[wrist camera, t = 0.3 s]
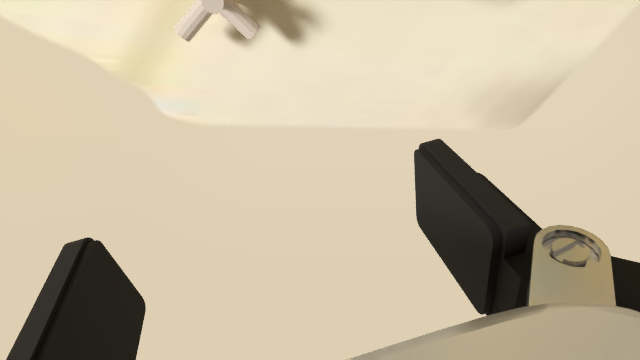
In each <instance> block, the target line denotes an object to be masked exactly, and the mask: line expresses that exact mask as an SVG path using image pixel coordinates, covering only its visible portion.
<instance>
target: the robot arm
mask: <svg viewBox="0 0 640 360" xmlns="http://www.w3.org/2000/svg"><path fill="white" fill-rule="evenodd" d="M414 163H415V189H416V215H417V221H418V224H419V226H420V228H421V229H422V231H423V233H424V234H425V235H426V237H427V238H428V240H429V241H430V243H431V244H432V246H433V247H434V248H435V250H436V251H437V253H438V254H439V256H440V257H441V259H442V260H443V262H444V263H445V265H446V266H447V268H448V269H449V271H450V272H451V274H452V275H453V276H454V278H455V279H456V281H457V282H458V284H459V285H460V287H461V288H462V290H463V291H464V293H465V294H466V296H467V297H468V299H469V300H470V301H471V303H472V304H473V306H474V307H475V309H476V310H477V311H478V312H479V313H480V314H486V315H487V316H485V317H482V318H478V319H475V320H472V321H468V322H465V323H462V324H458V325H455V326H452V327H448V328H445V329H442V330H438V331H435V332H432V333H429V334H425V335H423V336H420V337H416V338H413V339H410V340H407V341H404V342H400V343H397V344H394V345H391V346H388V347H385V348H382V349H379V350H375V351H373V352H369V353H366V354H363V355H360V356H357V357H354V358H350V359H348V360H640V263H638V262H633V261H629V260H625V259H621V258H617V257H612V256H611V255H610V252H609V249H608V247H607V246H606V245H605V244H604V242H603V241H602V240H601V239H600V238H598V237H597V236H595V235H594V234H592V233H590V232H588V231H586V230H583V229H581V228H577V227H573V226H564V225H556V226H550V227H547V228H544V229H542V228H540V227H539V226H538V225H537V224H536V223H535V222H534V221H533V220H532V219H531V218H530V217H528V216H527V215H526V214H525V213H524V212H523V211H522V210H521V209H520V208H518V207H517V206H516V205H515V204H514V203H513V202H512V201H511V200H510V199H509V198H508V197H507V196H505V195H504V194H503V193H502V192H501V191H500V190H499V189H498V188H497V187H495V185H493V184H492V183H491V182H490V181H489V180H488V179H487V178H486V177H485V176H483V175H482V174H480V173H477V172H475V171H474V170H473V169H472V168H471V167H470V166H469V165H468V164H467V163H466V162H464V161H463V159H461V158H460V157H459V156H458V155H457V154H456V153H455V152H454V151H453V150H452V149H451V148H449V146H447V145H446V144H445V143H444V142H443V141H442V140H441V139H436V140H432V141H429V142H425V143H421V144H420V146H419V149H418V150H415V152H414ZM145 309H146V308H145V302H144V299H143V298H142V296H141V295H140V293H139V292H138V291H137V290H136V288H135V287H134V286H133V284H132V283H131V282H130V280H129V279H128V277H127V276H126V275H125V273H124V272H123V271H122V269H121V268H120V267H119V265H118V264H117V263H116V261H115V260H114V259H113V257H112V256H111V255H110V253H109V252H108V251H107V250H106V248H105V247H104V245H103V244H102V243H101V242H100V241H97V240H96V241H94V240H93V239H92V238H84V239H81V240H77V241H73V242H70V243H67V244H65V245H64V247H63V249H62V250H61V252H60V254H59V256H58V258H57V260H56V262H55V264H54V266H53V268H52V270H51V272H50V274H49V276H48V278H47V280H46V282H45V284H44V286H43V288H42V290H41V292H40V294H39V296H38V298H37V300H36V302H35V304H34V306H33V308H32V310H31V312H30V314H29V316H28V318H27V320H26V322H25V324H24V326H23V328H22V330H21V332H20V333H19V335H18V337H17V339H16V341H15V344H14V346H13V347H12V349H11V351H10V353H9V355H8V357H7V359H6V360H136V355H137V350H138V345H139V340H140V335H141V330H142V325H143V320H144V315H145Z"/></svg>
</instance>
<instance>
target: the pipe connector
mask: <svg viewBox="0 0 640 360" xmlns="http://www.w3.org/2000/svg"><path fill="white" fill-rule="evenodd" d="M217 13H220V14H221V15H222V16H223V17H224V18H225V19H226V20H227V21H229V22H230V23H231V24H232V25H233V26H234V27H235V28H236V29H237V30H238V31H239V32H240V33H241V34H242V35H243V36H245V37H246V38H247V39H248V40H249V39H251V38H252V37H253V36H254V35H255V33H256V32H257V31H258V29H259V27H260V26H259V25H258V24H257V23H256V22H255V21H254V20H253V19H252V18H251V17H250V16H249V15H248V14H247V13H246V12H245V11H244V10H243V9H242V8H241V7H240V6H239V5H238V4H237V3H236V2H235V1H234V0H196V1H195V2H194V3H193V4H192V6H191V7H190V8H189V9H188V11H187V12H186V13H185V14H184V16H183V17H182V18H181V19H180V21H179V22H178V23H177V24H176V26H175V27H174V30H175V31H176V32H177V34H179V35H180V36H181V37H182V38H183V39H185V40H186V41H190V40H191V39H192V38H193V37H194V35H195V34H196V33H197V32H198V31H199V29H200V28H201V27H202V26H203V25H204V23H205V22H206V21H207V20H208V19H209V17H210V16H211V15H212V14H217Z"/></svg>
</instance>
